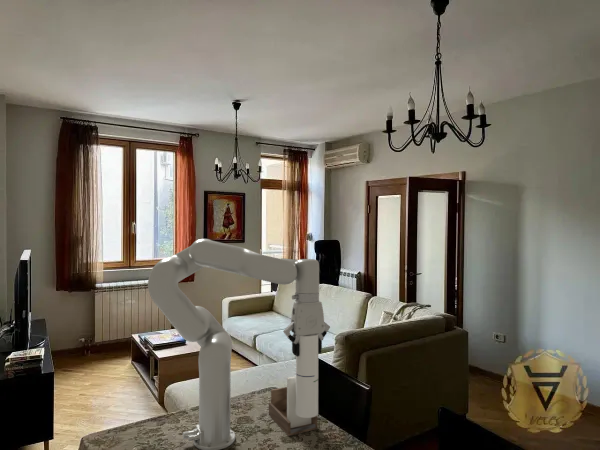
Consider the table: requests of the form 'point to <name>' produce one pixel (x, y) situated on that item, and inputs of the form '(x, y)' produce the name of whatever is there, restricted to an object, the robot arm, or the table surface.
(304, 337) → the cylindrical container
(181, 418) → the table surface
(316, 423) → the brown wooden tray
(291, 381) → the block
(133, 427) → the table surface
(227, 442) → the robot arm
